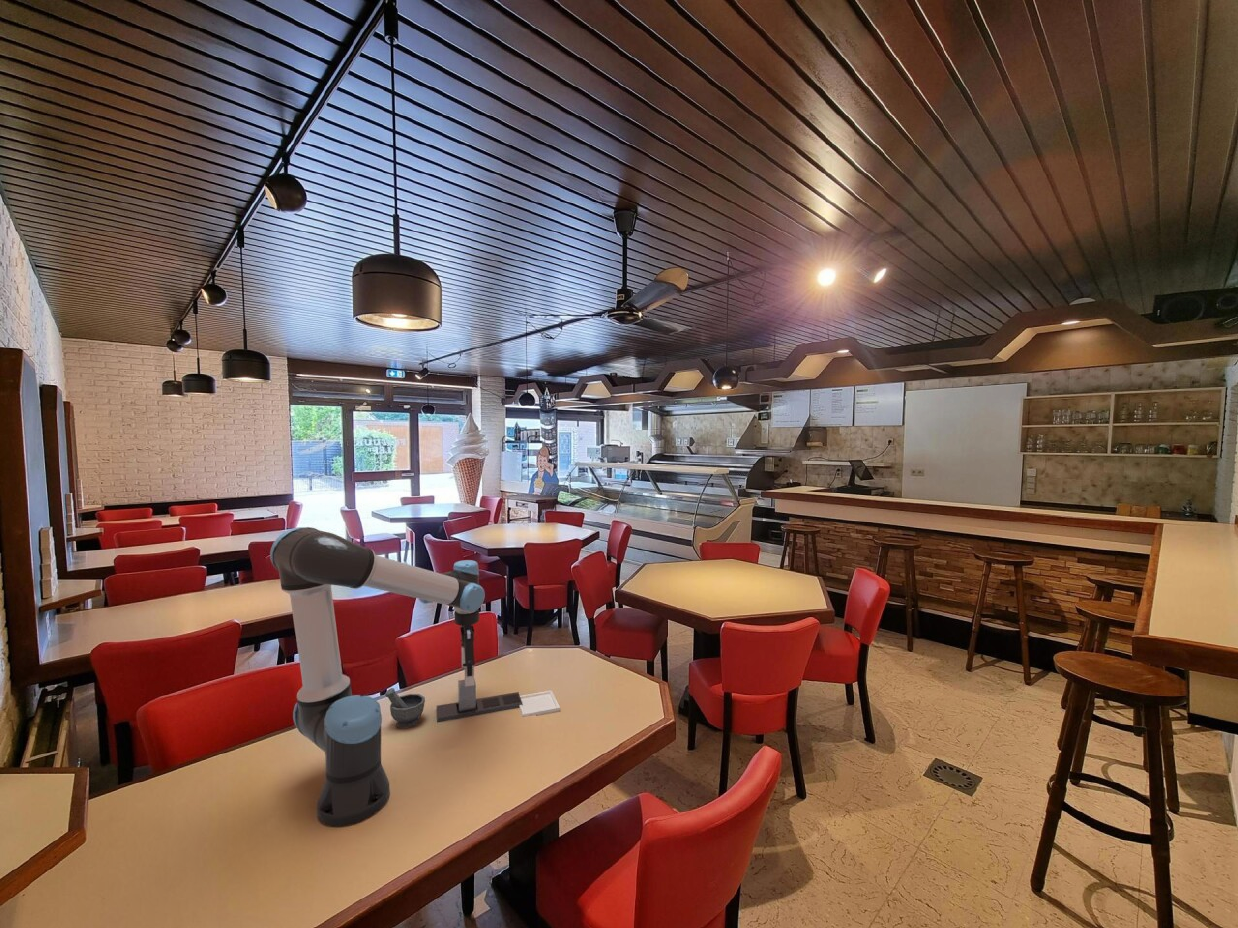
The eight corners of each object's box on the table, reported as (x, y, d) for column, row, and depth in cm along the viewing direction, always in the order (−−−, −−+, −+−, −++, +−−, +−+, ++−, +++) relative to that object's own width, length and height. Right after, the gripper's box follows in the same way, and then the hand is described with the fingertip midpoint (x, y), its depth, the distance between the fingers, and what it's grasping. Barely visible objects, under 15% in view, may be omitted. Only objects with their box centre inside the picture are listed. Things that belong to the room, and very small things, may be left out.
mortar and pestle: (421, 712, 158) (421, 674, 158) (428, 725, 150) (428, 686, 150) (382, 722, 152) (382, 683, 151) (387, 737, 144) (387, 696, 144)
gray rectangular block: (475, 712, 157) (475, 684, 157) (459, 715, 155) (459, 687, 155) (474, 705, 162) (474, 677, 161) (458, 707, 160) (458, 680, 160)
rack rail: (522, 708, 161) (522, 703, 161) (437, 723, 151) (437, 718, 151) (518, 696, 168) (518, 691, 168) (436, 710, 159) (436, 705, 159)
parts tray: (560, 711, 159) (560, 707, 159) (522, 718, 155) (522, 714, 155) (551, 693, 170) (551, 690, 170) (516, 699, 166) (516, 696, 166)
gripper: (483, 621, 147) (484, 691, 148) (475, 596, 170) (476, 657, 171) (456, 624, 144) (457, 696, 145) (452, 599, 168) (453, 661, 169)
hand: (467, 675), depth 158 cm, fingers open, 13 cm apart
